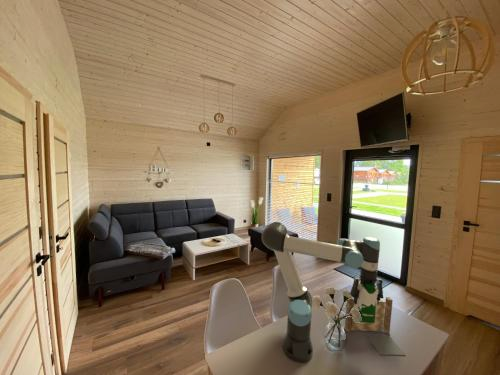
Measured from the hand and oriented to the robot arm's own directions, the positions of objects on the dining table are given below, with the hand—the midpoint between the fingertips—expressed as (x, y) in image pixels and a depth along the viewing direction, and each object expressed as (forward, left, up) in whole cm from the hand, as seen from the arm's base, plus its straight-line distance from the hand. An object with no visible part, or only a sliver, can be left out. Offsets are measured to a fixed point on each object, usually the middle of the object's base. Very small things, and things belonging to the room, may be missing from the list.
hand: (365, 309), depth 111 cm
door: (+9, +11, -21) cm, 25 cm away
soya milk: (0, 0, -5) cm, 5 cm away
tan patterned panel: (+9, +12, -21) cm, 26 cm away
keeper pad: (+13, +2, -21) cm, 25 cm away
